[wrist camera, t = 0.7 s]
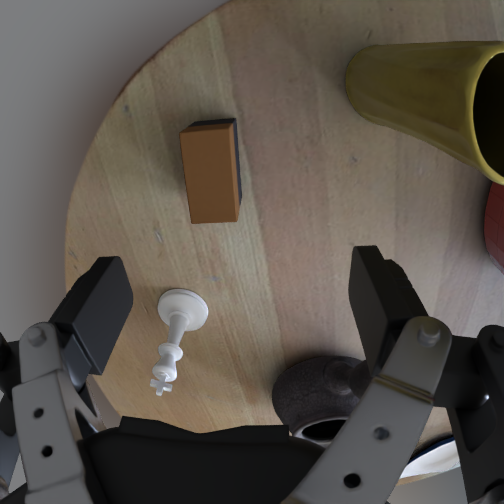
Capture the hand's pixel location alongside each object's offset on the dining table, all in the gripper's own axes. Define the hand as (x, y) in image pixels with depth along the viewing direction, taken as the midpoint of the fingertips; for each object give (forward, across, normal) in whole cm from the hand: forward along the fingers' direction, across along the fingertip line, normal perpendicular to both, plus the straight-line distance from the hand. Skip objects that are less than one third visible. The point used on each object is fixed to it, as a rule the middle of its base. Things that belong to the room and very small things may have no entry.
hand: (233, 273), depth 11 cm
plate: (+14, -39, +62) cm, 75 cm away
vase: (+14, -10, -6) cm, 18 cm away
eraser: (+14, +2, 0) cm, 14 cm away
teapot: (+14, -8, +23) cm, 28 cm away
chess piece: (+14, +8, +14) cm, 21 cm away
